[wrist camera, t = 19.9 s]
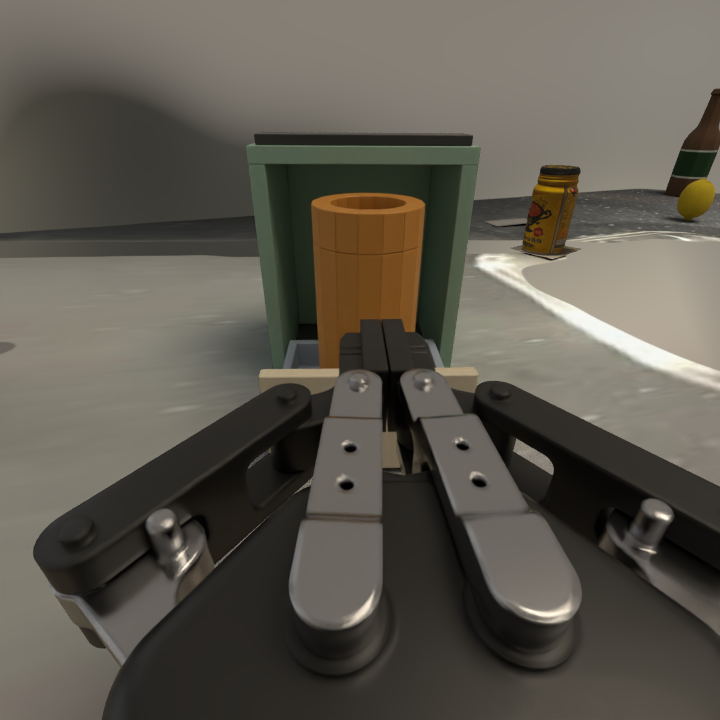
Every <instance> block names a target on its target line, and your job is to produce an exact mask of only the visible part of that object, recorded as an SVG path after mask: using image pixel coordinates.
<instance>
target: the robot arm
mask: <svg viewBox="0 0 720 720" xmlns="http://www.w3.org/2000/svg"><path fill="white" fill-rule="evenodd" d="M386 420H387V428H388V432H396V434H397V442H396V452H397V456H398V460H399V464H400V468H401V472H402V475H399V474H393V473H387V472H382V432H386ZM516 438H517V439H518V440H520V441H522V442H524V443H525V444H527V445H529V446H530V447H532V448H534V449H536V450H537V451H539V452H541V453H542V454H544V455H545V456H547V457H548V458H549V459H550V461H551V462H552V464H553V466H554V473H553V475H551V474H549V473H548V472H546V471H544V470H543V469H541V468H539V467H538V466H536V465H535V464H533V463H531V462H530V461H528V460H526V459H525V458H523V457H521V456H520V455H518V454H517V453H515V452H513V449H514V445H515V441H516ZM269 448H270V453H269V454H268V455H266V456H265V457H264V458H262V459H261V460H260V461H258V462H257V463H256V464H254V465H253V466H252V467H250V468H249V469H248V467H249V465H250V464H251V462H252V461H253V460H254V459H255V458H257V457H258V456H259V455H261V454H262V453H263V452H265V451H266V450H267V449H269ZM247 469H248V470H247ZM312 476H313V479H312V484H311V486H309V487H307V488H304V489H302V490H301V491H299V492H297V493H295V492H296V491H297V490H298V489H299V488H301V487H302V486H303V485H304V484H305V483H306V482H307V481H308V480H309V479H311V478H312ZM294 493H295V494H294ZM293 494H294V495H293ZM292 495H293V496H292ZM289 497H290V498H289ZM270 514H271V515H270ZM269 515H270V516H269ZM268 516H269V517H268ZM267 517H268V518H267ZM266 518H267V519H266ZM265 519H266V520H265ZM264 520H265V521H264ZM263 521H264V522H263ZM262 522H263V523H262ZM260 523H262V524H261V525H260V526H259V527H258V528H256V527H257V526H258V525H259V524H260ZM255 528H256V529H255ZM254 529H255V530H254ZM253 530H254V531H253ZM252 531H253V532H252ZM250 532H252V533H251V534H250V535H249V536H248V537H247V538H246V539H245V540H244V541H243V542H242V543H241V544H240V545H239V546H238V547H237V548H236V549H235V550H233V551H232V552H231V553H230V554H229V555H228V556H227V557H226V558H225V559H224V560H223V561H222V562H221V563H220V564H219V565H218V566H217V567H216V568H215V569H214V565H215V564H216V563H217V562H218V561H219V560H220V559H221V558H223V557H224V556H225V555H226V554H227V553H228V552H229V551H230V550H231V549H233V548H234V547H235V546H236V545H237V544H238V543H239V542H240V541H242V540H243V539H244V538H245V537H246V536H247V535H248V534H249V533H250ZM33 556H34V559H35V561H36V562H37V564H38V565H39V567H40V568H41V570H42V571H43V573H44V574H45V576H46V578H47V579H48V581H49V585H50V588H51V590H52V592H53V593H54V595H55V596H56V598H57V599H58V601H59V602H60V604H61V605H62V607H63V608H64V610H65V611H66V613H67V614H68V616H69V617H70V619H71V620H72V622H73V623H74V624H76V625H77V626H79V628H80V629H81V631H82V632H83V634H84V635H85V637H86V638H87V640H88V641H89V643H90V644H92V645H93V646H95V647H97V648H107V650H108V651H109V652H110V654H111V655H112V656H113V658H114V659H115V661H116V662H117V663H118V665H119V666H120V667H121V669H120V671H119V673H118V675H117V677H116V679H115V681H114V683H113V685H112V687H111V690H110V692H109V695H108V698H107V701H106V704H105V708H104V712H103V716H102V720H720V487H719V486H717V485H715V484H713V483H711V482H709V481H707V480H705V479H703V478H701V477H699V476H697V475H695V474H693V473H691V472H689V471H687V470H685V469H683V468H681V467H679V466H677V465H675V464H673V463H670V462H668V461H666V460H664V459H662V458H660V457H658V456H656V455H654V454H652V453H650V452H648V451H646V450H644V449H642V448H640V447H638V446H636V445H634V444H632V443H630V442H628V441H626V440H624V439H622V438H620V437H618V436H616V435H613V434H611V433H609V432H607V431H605V430H603V429H601V428H599V427H597V426H595V425H593V424H591V423H589V422H587V421H585V420H583V419H581V418H579V417H577V416H575V415H573V414H571V413H569V412H567V411H565V410H563V409H561V408H558V407H556V406H554V405H552V404H550V403H548V402H546V401H544V400H542V399H540V398H538V397H536V396H534V395H532V394H530V393H528V392H526V391H524V390H522V389H520V388H518V387H516V386H514V385H511V384H509V383H505V382H500V381H487V382H483V383H481V384H479V385H478V386H477V387H476V389H475V393H471V392H465V391H460V390H456V389H453V388H451V387H450V386H449V384H448V382H447V380H446V378H445V377H444V376H443V375H442V374H440V373H438V372H436V370H435V367H434V364H433V361H432V359H431V356H430V354H429V350H428V348H427V344H426V341H425V339H424V338H423V337H422V336H421V335H420V334H418V333H417V332H405V329H404V325H403V321H402V319H382V320H381V321H380V319H360V332H357V333H345V334H344V336H343V337H342V338H341V339H340V355H339V376H338V377H337V378H336V381H335V386H333V387H332V388H331V389H329V390H327V391H324V392H321V393H317V394H312V395H311V392H310V390H309V389H308V388H307V387H305V386H303V385H300V384H295V383H285V384H280V385H276V386H274V387H272V388H270V389H268V390H266V391H265V392H263V393H262V394H260V395H258V396H257V397H255V398H253V399H252V400H250V401H248V402H247V403H245V404H244V405H242V406H240V407H239V408H237V409H235V410H234V411H232V412H230V413H229V414H227V415H226V416H224V417H222V418H221V419H219V420H217V421H216V422H214V423H212V424H211V425H209V426H208V427H206V428H204V429H203V430H201V431H199V432H198V433H196V434H194V435H193V436H191V437H190V438H188V439H186V440H185V441H183V442H181V443H180V444H178V445H176V446H175V447H173V448H172V449H170V450H168V451H167V452H165V453H163V454H162V455H160V456H159V457H157V458H155V459H154V460H152V461H150V462H149V463H147V464H145V465H144V466H142V467H141V468H139V469H137V470H136V471H134V472H132V473H131V474H129V475H127V476H126V477H124V478H123V479H121V480H119V481H118V482H116V483H114V484H113V485H111V486H109V487H108V488H106V489H105V490H103V491H101V492H100V493H98V494H96V495H95V496H93V497H91V498H90V499H88V500H87V501H85V502H83V503H82V504H80V505H78V506H77V507H75V508H73V509H72V510H70V511H69V512H67V513H65V514H64V515H62V516H61V517H59V518H58V519H56V520H55V521H54V522H52V523H51V524H50V525H49V526H48V527H47V528H46V529H45V530H44V531H43V532H42V533H41V535H40V536H39V538H38V539H37V541H36V543H35V546H34V550H33Z"/></svg>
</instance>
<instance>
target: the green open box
mask: <svg viewBox="0 0 720 720" xmlns="http://www.w3.org/2000/svg"><path fill="white" fill-rule="evenodd" d="M254 139H255V143H253V144H250V145H247V146H246V150H247V158H248V164H249V174H250V181H251V190H252V198H253V206H254V215H255V223H256V231H257V240H258V248H259V256H260V264H261V273H262V281H263V289H264V297H265V306H266V314H267V322H268V330H269V339H270V347H271V355H272V363H273V369H283V366H284V362H285V358H286V354H287V350H288V346H289V342H290V340H296V335H297V331H298V327H299V323H300V324H317V308H316V289H315V270H314V251H313V232H312V213H311V203H312V201H313V200H315V199H318V198H320V197H324V196H329V195H336V194H347V193H385V194H397V195H404V196H410V197H413V198H417V199H420V200H422V201H423V202H424V204H425V215H424V227H423V239H422V252H421V264H420V276H419V288H418V300H417V312H416V323H418V324H419V326H420V329H421V332H422V335H423V338H424V339H434V342H435V345H436V347H437V350H438V352H439V355H440V358H441V360H442V363H443V365H444V368H450V365H451V358H452V350H453V343H454V336H455V329H456V322H457V315H458V307H459V300H460V293H461V286H462V279H463V271H464V264H465V257H466V250H467V243H468V236H469V228H470V221H471V214H472V207H473V200H474V192H475V185H476V178H477V171H478V164H479V157H480V150H481V147H480V146H476V145H472V140H473V135H469V134H463V133H460V134H457V133H456V134H454V133H451V134H450V133H448V134H447V133H285V132H284V133H278V132H276V133H275V132H273V133H272V132H266V133H265V132H262V133H257V134H254Z"/></svg>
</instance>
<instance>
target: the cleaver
mask: <svg viewBox="0 0 720 720" xmlns="http://www.w3.org/2000/svg"><path fill="white" fill-rule="evenodd" d="M484 222H486V223H489V224H491V225H493V226H496V227H500V226H509V225H518V224H526V223H527V219H523V218H519V219H506V220H493V221H484Z"/></svg>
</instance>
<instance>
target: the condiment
mask: <svg viewBox="0 0 720 720" xmlns="http://www.w3.org/2000/svg"><path fill="white" fill-rule="evenodd" d="M580 172H581V171H580V168H579V167H575V166H564V165H561V166H560V165H546V166H543V167H542V168H541V170H540V176H539V178H538V184H537V185H536V186H535V187H534V190H533V194H532V199H531V205H530V209H529V214H528V219H527V223H526V228H525V234H524V238H523V245H522V246H518V247H514V248H512V249H516V250H519V251H521V252H525V253H528V254H533V255H536V256H543V257H547V258H550V259H554V258H558V257H560V256H564V255H567V254H569V253H571V252H576V251H578V250H581V249H580V248H573V247H568V246H565V242H566V238H567V234H568V230H569V226H570V222H571V218H572V214H573V210H574V206H575V203H576V199H577V195H578V188H577V183H578V176H579V174H580Z"/></svg>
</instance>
